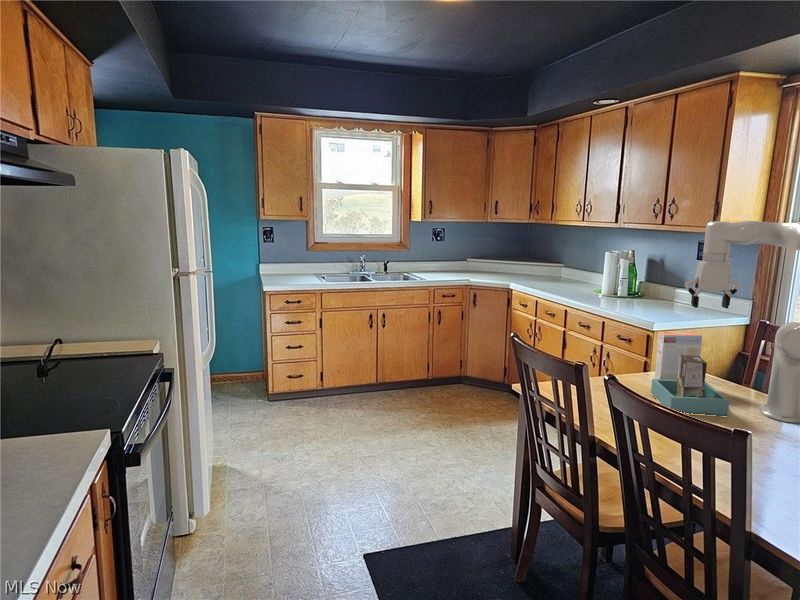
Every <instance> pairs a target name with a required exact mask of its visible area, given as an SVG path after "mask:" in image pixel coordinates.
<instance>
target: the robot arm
mask: <svg viewBox="0 0 800 600" xmlns="http://www.w3.org/2000/svg"><path fill="white" fill-rule="evenodd" d="M731 244H737V245H743V246H744V245H747V246H748V245H751V244H756V245H757V244H758V245H768V246H776V247H782V248H785V249H789V250H792V251H793V250H795V251H800V222H772V221H771V222H769V221H756V220H743V221H739V222H738V221H737V222H730V221H722V220H721V221H719V220H718V221H715V220H714V221H709V222H708V223H706V226H705V234H704V244H703V250H702V251H703V252H702V260H701V261H699V262H698V264H697V265H698V266H697V267H696V271H695V276H694V278H693V279H691V280H688V281H686V282H685V283H684V286H685V288H686V290H687V291H688V293H690V295H691V302H690V304H691V307H693V308H699V304H700V303H699V301H700V297H699V295H700V294H701V293H702V292H720V293H721V292H722V293H723V294H724V295H722V300H721V307H722V308H724V309H729V306H730V304H731V299H732V298H731V297H733V296H734V295H735V294H736V293H737V292H738V290H739V289H740V287H741V283H739V282H737V281H735V280H733V279H732V267H731V262H730V260H732V259H733V258H734V255H733V254H731V253H730V251H731ZM692 285H693V287H692ZM731 285H732V288H731ZM693 288H694V289H693ZM771 365H772V366H771V371H770V379H769V385H768V390H767V391H768V392H767V399H766V404H764V405H763V404H762V405H760V407H759V412H760V413H761V414H762V415H764V416H766V417H768V418H771V419H773V420H776V421H781V422H785V423H793V424H800V322H796V321H791V322H786V323H784V324H782V325H781V326H779V327H778V329H777V331H776V332H775V336H774V349H773V358H772V364H771Z"/></svg>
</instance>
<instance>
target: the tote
mask: <svg viewBox="0 0 800 600" xmlns="http://www.w3.org/2000/svg"><path fill="white" fill-rule="evenodd" d="M676 387H677V380H665V379H655V378H652V379H651V388H650V390H651V391H650V394H651V393H652V394H653V395H654V396H655V397H656V398H657V399H658V400H659V402H661V403H660V404H662V405H664V406H666V407H669V408H671V409H674V410H676V411H679V412H682V413H684V412H685V414H686V413H689V414H691V413H693V414H705V415H716V416H728V415H729V410H730V409H729V407H730V402H731V401H730V399H729V398H728V397H726V396H725V395H723V394H722V393H721V392H720V391H718V390H717V389H716V388H714V387H713V386H711V385H710V384H709V383H708V382H706V381H705V383H704V391H703V398H699V397H678V396H676ZM659 402H658V403H659ZM728 417H729V416H728Z"/></svg>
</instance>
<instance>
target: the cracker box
mask: <svg viewBox="0 0 800 600" xmlns="http://www.w3.org/2000/svg"><path fill="white" fill-rule="evenodd" d="M657 336H658V337H657V344H656V345H657V349H656V356H655V359H656V360H655V370H654V371H655V372H654V379H665V380H677V377H678V367H679V357H680V355H693V356H699V357H701V354H702V344H703V343H702V342H703V335H702V334H700V333H698V332H696V331H658V334H657Z"/></svg>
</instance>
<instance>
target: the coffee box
mask: <svg viewBox="0 0 800 600" xmlns="http://www.w3.org/2000/svg"><path fill="white" fill-rule="evenodd" d="M707 365H708V363H707V361H705V360H704V359H703V358H702V357H701V356H700V357H699V356H693V355H680V357H679V367H678V377H677V387H676V396H678V397H699V398H703V391H704V383H705V382H706V374H707V373H706V372H707V368H708V367H707Z"/></svg>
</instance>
